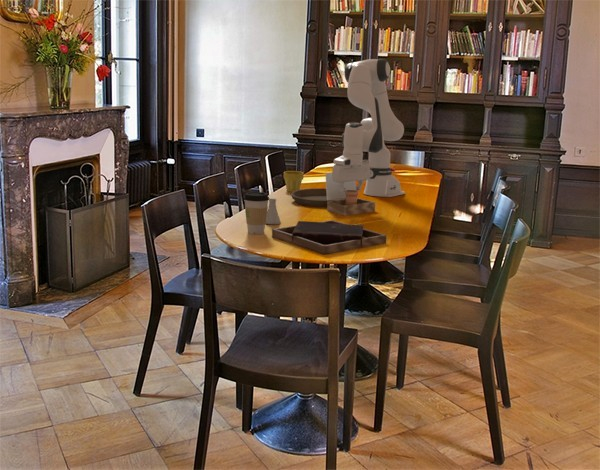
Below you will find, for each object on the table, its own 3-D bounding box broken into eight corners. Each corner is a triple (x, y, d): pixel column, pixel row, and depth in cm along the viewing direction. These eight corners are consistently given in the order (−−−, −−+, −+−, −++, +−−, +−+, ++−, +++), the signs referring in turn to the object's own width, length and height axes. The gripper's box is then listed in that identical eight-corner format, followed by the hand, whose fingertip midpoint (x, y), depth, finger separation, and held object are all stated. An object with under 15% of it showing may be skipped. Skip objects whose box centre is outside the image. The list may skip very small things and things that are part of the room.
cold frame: (352, 206, 312) (353, 182, 309) (374, 212, 301) (376, 186, 298) (323, 210, 301) (324, 185, 298) (345, 216, 290) (346, 190, 287)
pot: (351, 209, 303) (352, 189, 301) (360, 211, 299) (361, 191, 297) (341, 210, 300) (342, 190, 298) (350, 212, 296) (351, 192, 293)
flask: (262, 221, 276) (263, 197, 273) (280, 221, 276) (280, 197, 274) (263, 225, 269) (263, 200, 266) (281, 225, 269) (282, 200, 267)
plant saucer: (309, 211, 300) (309, 201, 299) (279, 199, 326) (279, 189, 325) (367, 206, 314) (368, 197, 313) (334, 195, 341) (334, 186, 339)
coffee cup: (253, 228, 262) (254, 190, 259) (273, 232, 257) (274, 193, 254) (237, 232, 255) (238, 193, 251) (258, 236, 249) (258, 197, 246)
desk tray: (332, 227, 268) (332, 220, 267) (386, 243, 245) (386, 235, 245) (272, 236, 250) (272, 229, 249) (324, 254, 227) (324, 246, 226)
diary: (361, 249, 237) (362, 235, 236) (291, 245, 240) (292, 232, 239) (363, 236, 255) (363, 223, 254) (298, 232, 258) (298, 220, 257)
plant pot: (300, 193, 343) (301, 174, 340) (281, 191, 345) (281, 173, 342) (304, 189, 352) (305, 171, 350) (285, 188, 354) (286, 170, 352)
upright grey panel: (356, 196, 308) (355, 196, 309) (355, 170, 307) (354, 170, 307) (327, 200, 297) (326, 200, 298) (326, 173, 296) (325, 173, 296)
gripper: (364, 158, 303) (362, 188, 306) (330, 160, 290) (328, 191, 293) (374, 159, 298) (372, 190, 301) (340, 161, 285) (338, 193, 289)
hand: (350, 191), depth 297 cm, fingers open, 8 cm apart
